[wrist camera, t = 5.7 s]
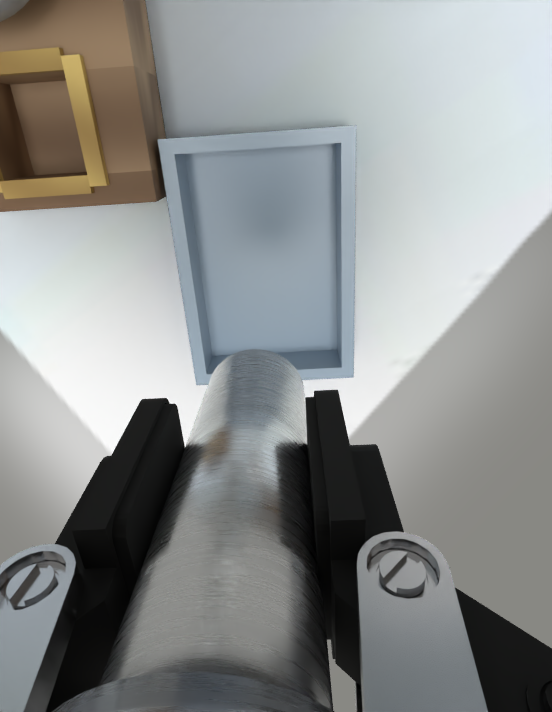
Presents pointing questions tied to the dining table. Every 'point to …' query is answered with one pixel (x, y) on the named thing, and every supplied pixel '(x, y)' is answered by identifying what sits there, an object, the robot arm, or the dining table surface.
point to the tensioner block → (78, 105)
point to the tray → (266, 245)
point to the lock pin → (229, 565)
